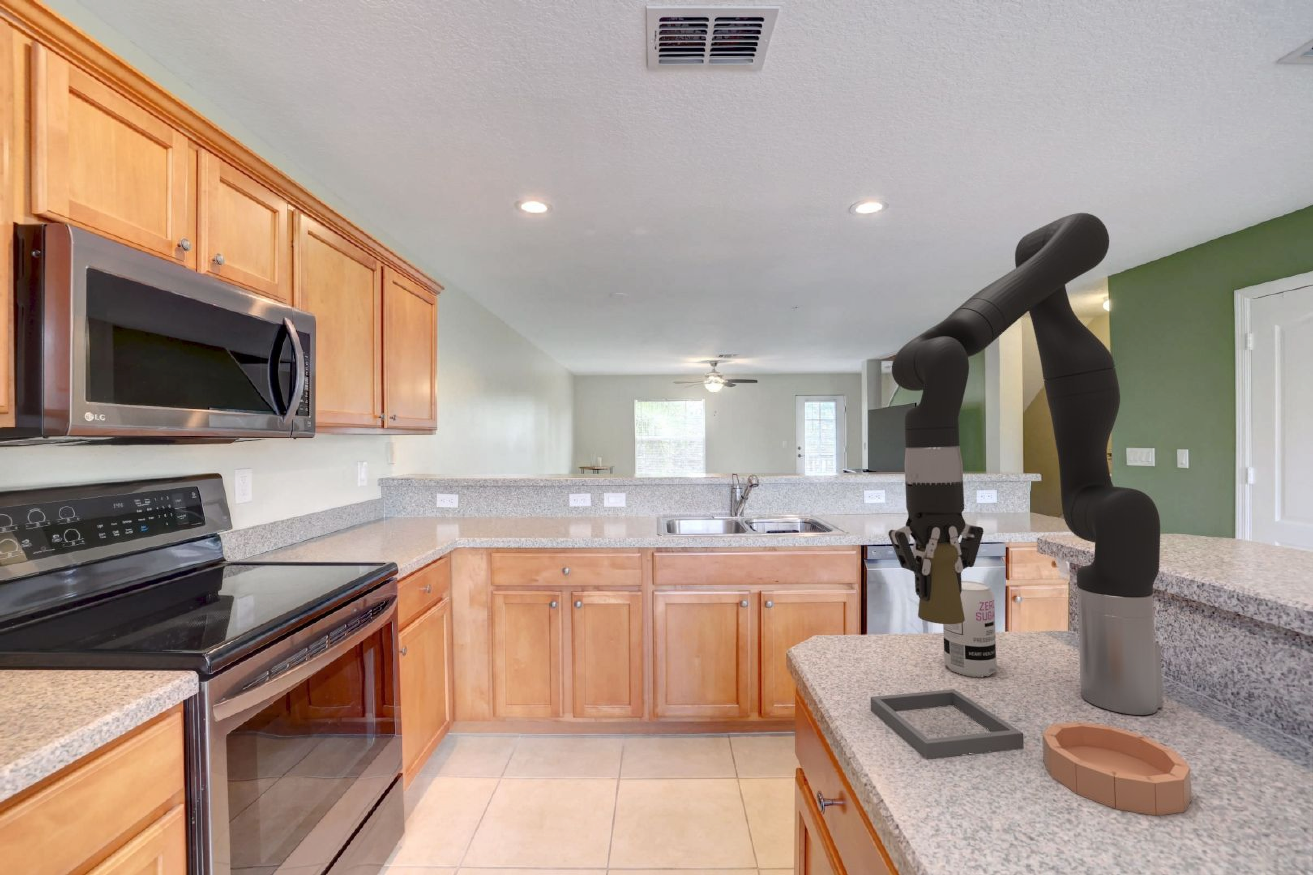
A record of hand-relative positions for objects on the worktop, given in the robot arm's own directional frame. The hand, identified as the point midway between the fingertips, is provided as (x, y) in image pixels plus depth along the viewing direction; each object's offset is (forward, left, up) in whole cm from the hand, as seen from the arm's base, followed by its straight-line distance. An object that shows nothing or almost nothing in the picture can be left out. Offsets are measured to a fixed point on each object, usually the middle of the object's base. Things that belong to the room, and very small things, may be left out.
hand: (938, 598), depth 82 cm
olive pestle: (0, 0, -3) cm, 3 cm away
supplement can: (-18, -18, -19) cm, 32 cm away
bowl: (-12, +15, -18) cm, 27 cm away
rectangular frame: (0, 0, -18) cm, 18 cm away
